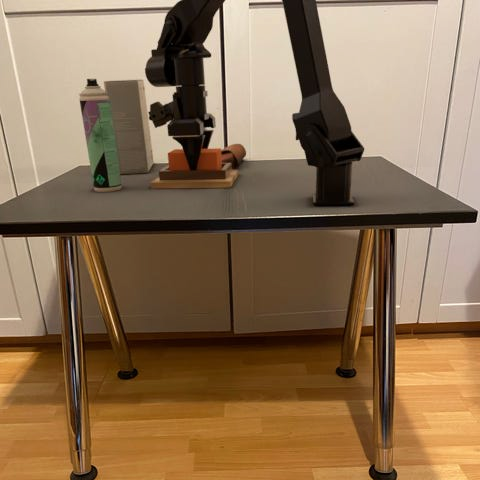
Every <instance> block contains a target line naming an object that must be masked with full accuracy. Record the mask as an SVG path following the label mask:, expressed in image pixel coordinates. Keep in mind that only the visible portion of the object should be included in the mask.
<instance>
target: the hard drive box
mask: <svg viewBox="0 0 480 480" xmlns="http://www.w3.org/2000/svg"><path fill="white" fill-rule="evenodd" d="M103 87H104V91H105V92H107V93H108V96H109V98H110V105H111V112H112V120H113V127H114V134H115V141H116V148H117V156H118V163H119V170H120V175H132V174H134V175H135V174H148V173H150V170H151V168H152V166H153V165H154V153H153V146H152V145H153V144H152V139H151V137H152V136H151V129H150V122H149V121H150V120H149V113H148V112H149V111H148V105H147V98H146V97H147V96H146V87H145V81H144V79H142V78H141V79H118V80H117V79H116V80H115V79H114V80H106V81H105V80H104V81H103Z"/></svg>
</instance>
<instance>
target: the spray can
mask: <svg viewBox="0 0 480 480" xmlns="http://www.w3.org/2000/svg"><path fill="white" fill-rule="evenodd" d="M86 82H87V83H86V86H84V89H83V90H82V91H81V92H80V93H79V94H78V95H79V98H78V99H79V105H80V112H81V118H82V123H83V129H84V130H83V131H84V134H85V142H86V147H87V154H88V160H89V166H90V172H91V179H92V185H93V190H94V192H98V193H109V192H115V191H120V190H122V188H123V185H122V178H121V174H120V170H119V163H118V156H117V148H116V141H115V134H114V127H113V120H112V112H111V105H110V98H109V96H108V93H107V92H105V89H103V88H102V87H101V85H99V83H98V80H97V78H86Z"/></svg>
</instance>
